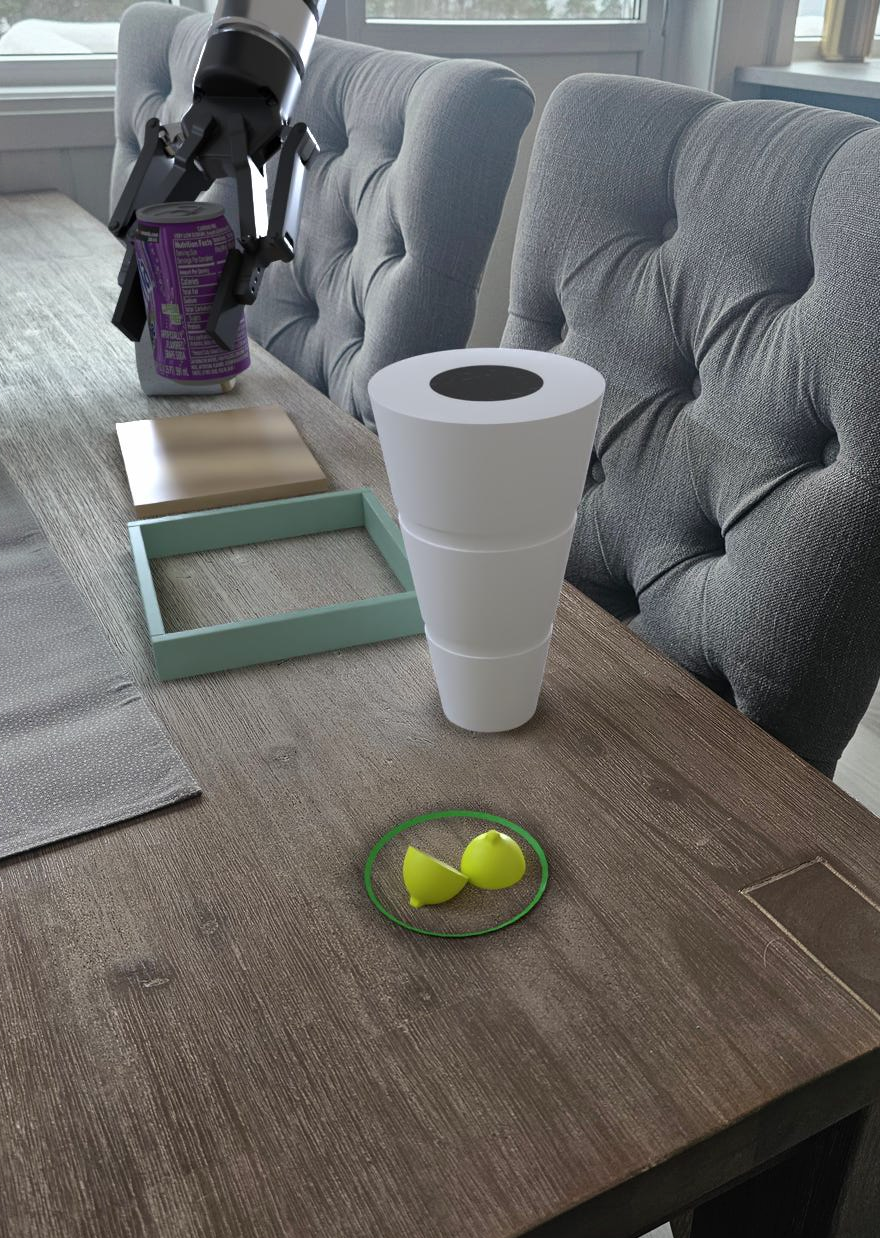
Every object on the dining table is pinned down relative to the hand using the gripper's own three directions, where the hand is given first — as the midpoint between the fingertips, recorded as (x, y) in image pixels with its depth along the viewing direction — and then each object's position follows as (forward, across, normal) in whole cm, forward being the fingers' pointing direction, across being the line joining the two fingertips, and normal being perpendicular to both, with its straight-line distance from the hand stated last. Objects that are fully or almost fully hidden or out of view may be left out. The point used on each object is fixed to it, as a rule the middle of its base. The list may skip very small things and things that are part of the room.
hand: (171, 336), depth 81 cm
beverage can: (0, 0, -5) cm, 5 cm away
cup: (+24, -32, +8) cm, 41 cm away
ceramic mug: (-6, +12, -22) cm, 26 cm away
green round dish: (+33, -35, +17) cm, 51 cm away
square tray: (+18, -15, +2) cm, 24 cm away
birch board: (+6, 0, -10) cm, 12 cm away
